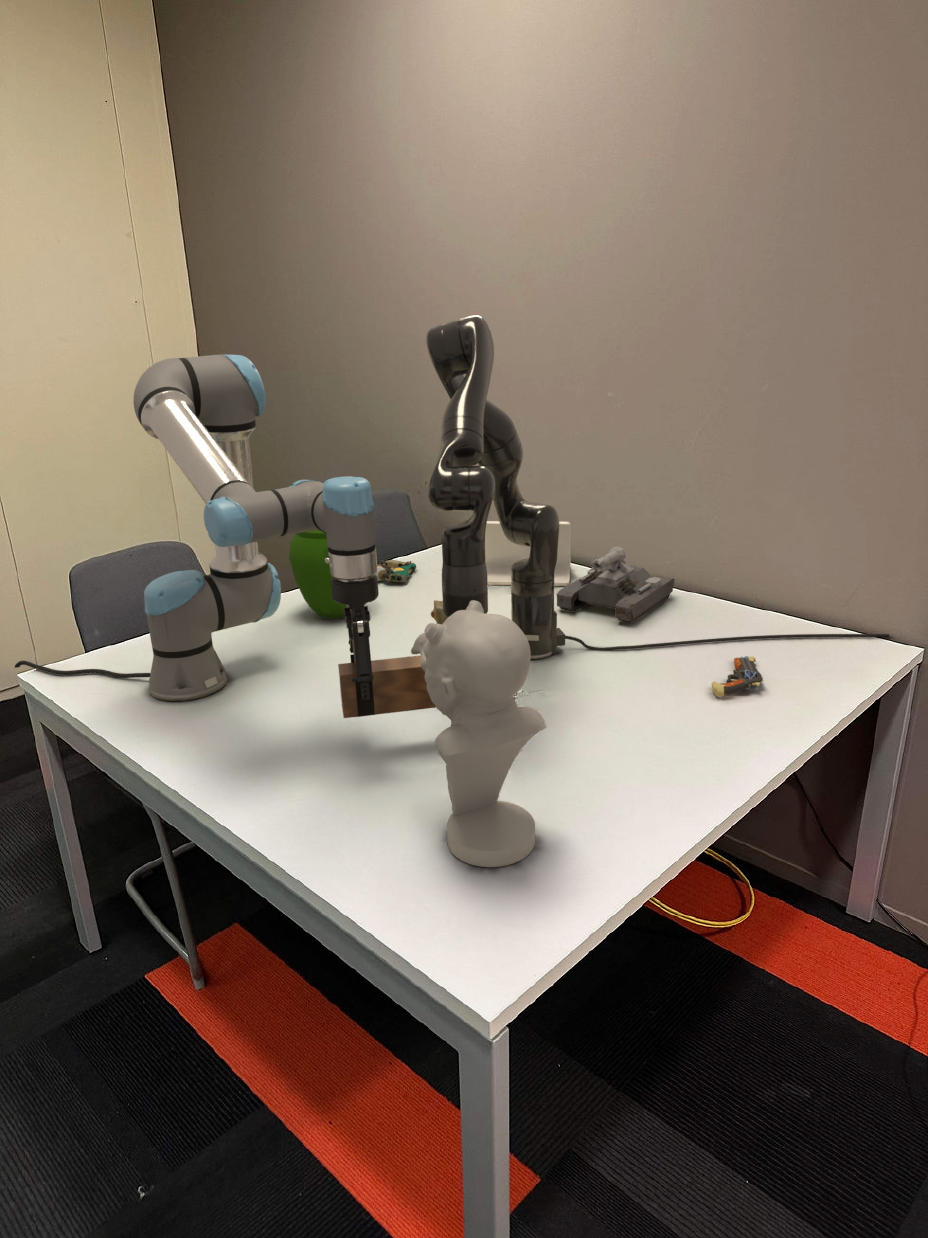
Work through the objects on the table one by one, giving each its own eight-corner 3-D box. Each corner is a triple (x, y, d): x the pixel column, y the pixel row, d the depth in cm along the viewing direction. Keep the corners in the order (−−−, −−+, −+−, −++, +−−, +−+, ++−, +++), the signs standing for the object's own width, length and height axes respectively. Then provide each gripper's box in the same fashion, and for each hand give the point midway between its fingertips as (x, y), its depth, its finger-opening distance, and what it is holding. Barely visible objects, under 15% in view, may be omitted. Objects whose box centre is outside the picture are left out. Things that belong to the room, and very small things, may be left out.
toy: (603, 584, 229) (605, 530, 224) (673, 597, 218) (677, 540, 213) (555, 612, 210) (556, 553, 205) (630, 627, 199) (633, 566, 194)
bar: (486, 689, 151) (485, 648, 148) (492, 701, 147) (491, 659, 144) (341, 705, 146) (338, 663, 144) (343, 718, 142) (339, 675, 139)
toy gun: (713, 687, 162) (768, 684, 160) (705, 654, 180) (754, 651, 178) (714, 700, 163) (769, 697, 161) (706, 666, 181) (755, 664, 179)
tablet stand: (569, 585, 229) (570, 524, 223) (476, 584, 232) (475, 523, 226) (570, 566, 246) (571, 508, 240) (484, 564, 249) (483, 507, 243)
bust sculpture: (481, 772, 140) (476, 569, 128) (565, 848, 120) (569, 617, 108) (392, 800, 134) (378, 588, 121) (465, 886, 114) (457, 642, 101)
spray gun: (385, 567, 252) (430, 574, 246) (355, 580, 238) (402, 588, 232) (385, 553, 251) (430, 559, 245) (355, 565, 236) (402, 573, 230)
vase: (389, 608, 216) (383, 514, 208) (339, 633, 201) (330, 533, 192) (330, 596, 226) (322, 506, 218) (278, 619, 211) (267, 523, 202)
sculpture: (458, 662, 183) (456, 596, 178) (460, 676, 176) (457, 608, 171) (431, 663, 183) (428, 597, 177) (431, 677, 176) (428, 609, 171)
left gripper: (326, 558, 146) (337, 677, 154) (334, 599, 126) (345, 734, 133) (370, 554, 147) (378, 673, 155) (385, 595, 127) (393, 729, 135)
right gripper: (497, 598, 135) (498, 696, 141) (477, 572, 148) (480, 662, 154) (450, 603, 134) (454, 701, 140) (435, 576, 147) (439, 666, 153)
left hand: (363, 701), depth 144 cm, fingers open, 9 cm apart
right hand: (467, 680), depth 147 cm, fingers closed on bar, 4 cm apart
